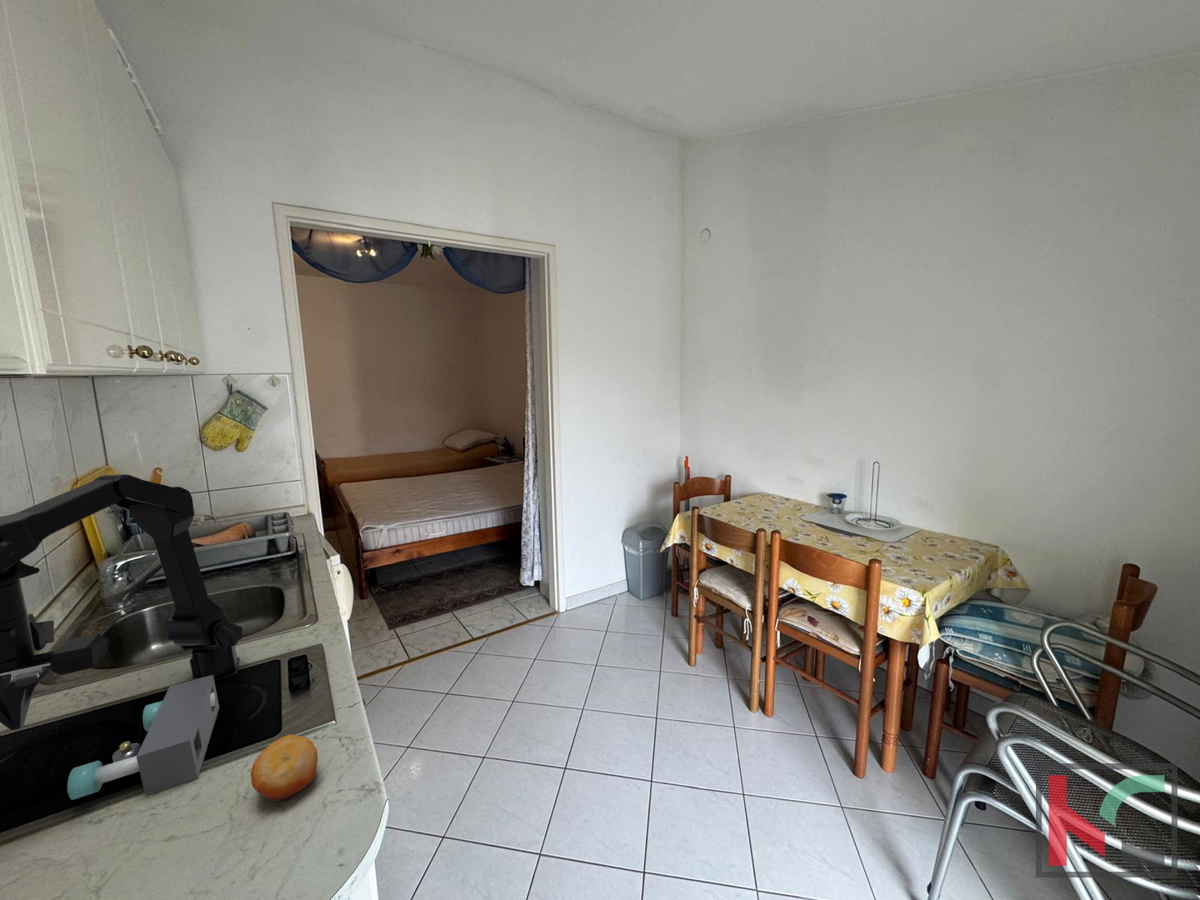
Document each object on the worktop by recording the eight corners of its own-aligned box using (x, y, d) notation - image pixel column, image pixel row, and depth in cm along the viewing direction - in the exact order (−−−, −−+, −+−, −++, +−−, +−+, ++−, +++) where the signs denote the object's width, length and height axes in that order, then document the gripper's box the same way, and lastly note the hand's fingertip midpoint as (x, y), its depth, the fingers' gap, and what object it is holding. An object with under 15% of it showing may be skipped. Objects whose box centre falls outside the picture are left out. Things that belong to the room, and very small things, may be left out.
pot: (146, 753, 80) (141, 733, 79) (140, 767, 77) (135, 746, 76) (119, 762, 78) (114, 741, 77) (112, 776, 75) (107, 755, 75)
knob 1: (162, 760, 76) (157, 737, 75) (155, 778, 73) (149, 754, 72) (83, 785, 72) (77, 761, 71) (71, 806, 69) (64, 781, 68)
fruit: (306, 742, 79) (308, 716, 75) (323, 789, 75) (325, 765, 71) (245, 772, 73) (243, 746, 69) (259, 825, 69) (258, 801, 65)
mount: (219, 707, 90) (213, 674, 89) (197, 778, 74) (189, 740, 73) (176, 719, 87) (169, 686, 86) (145, 796, 72) (136, 756, 70)
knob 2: (217, 702, 89) (213, 682, 88) (213, 716, 85) (209, 695, 85) (153, 721, 85) (148, 700, 84) (145, 736, 81) (141, 714, 81)
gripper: (112, 582, 77) (129, 676, 79) (-71, 612, 68) (-46, 717, 70) (81, 611, 67) (101, 717, 69) (-137, 650, 58) (-106, 770, 61)
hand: (18, 727), depth 68 cm, fingers closed
